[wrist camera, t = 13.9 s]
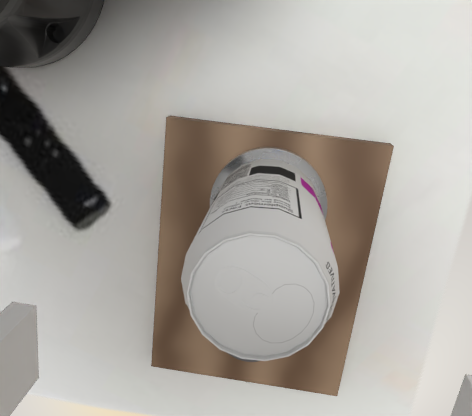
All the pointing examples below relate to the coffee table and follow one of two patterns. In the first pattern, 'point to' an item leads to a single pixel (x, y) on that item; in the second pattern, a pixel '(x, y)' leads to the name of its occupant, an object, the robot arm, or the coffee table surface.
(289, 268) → the supplement can
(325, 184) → the walnut board
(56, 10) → the robot arm
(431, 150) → the coffee table surface
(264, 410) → the coffee table surface
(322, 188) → the large steel flange
